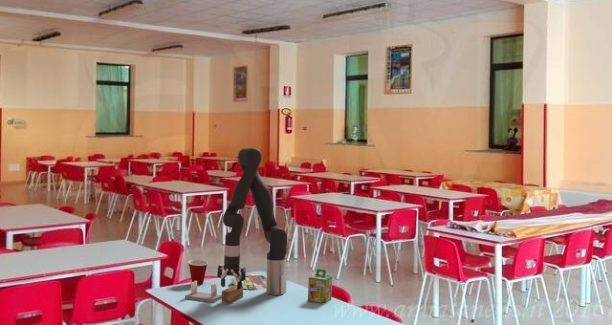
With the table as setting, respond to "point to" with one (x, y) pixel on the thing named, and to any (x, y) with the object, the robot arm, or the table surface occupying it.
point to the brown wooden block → (232, 294)
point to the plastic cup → (198, 270)
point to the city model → (252, 281)
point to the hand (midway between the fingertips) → (231, 287)
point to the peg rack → (203, 296)
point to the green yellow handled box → (320, 287)
